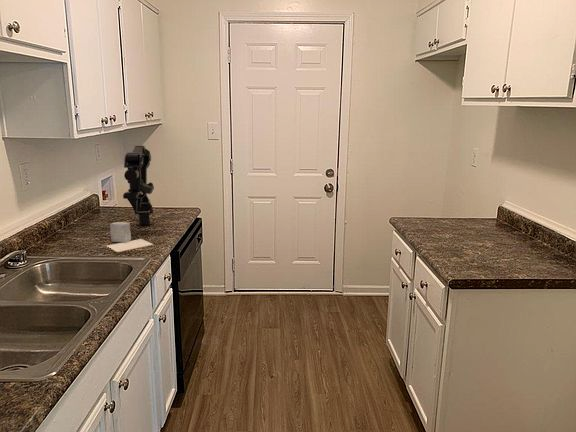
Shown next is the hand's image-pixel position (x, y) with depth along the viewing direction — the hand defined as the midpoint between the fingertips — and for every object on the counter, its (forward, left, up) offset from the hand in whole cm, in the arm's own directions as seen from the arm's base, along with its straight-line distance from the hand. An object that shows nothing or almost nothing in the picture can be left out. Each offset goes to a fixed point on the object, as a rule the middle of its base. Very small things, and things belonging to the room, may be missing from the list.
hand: (137, 209), depth 232 cm
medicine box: (+9, -13, -12) cm, 20 cm away
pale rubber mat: (+18, -13, -12) cm, 25 cm away
